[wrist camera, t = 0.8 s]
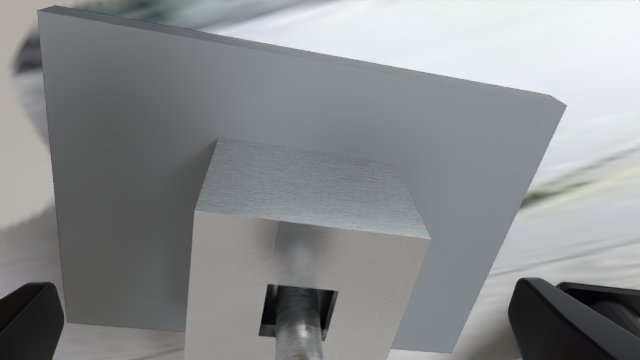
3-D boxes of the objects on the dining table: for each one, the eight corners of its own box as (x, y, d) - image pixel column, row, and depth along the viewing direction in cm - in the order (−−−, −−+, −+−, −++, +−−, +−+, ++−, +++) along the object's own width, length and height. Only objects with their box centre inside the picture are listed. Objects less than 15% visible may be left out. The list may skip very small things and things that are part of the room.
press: (393, 162, 21) (431, 239, 15) (354, 293, 24) (374, 391, 19) (218, 137, 19) (194, 210, 14) (205, 278, 23) (181, 378, 18)
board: (549, 94, 21) (567, 105, 20) (443, 334, 28) (451, 353, 27) (55, 5, 18) (37, 10, 16) (78, 302, 25) (66, 322, 24)
